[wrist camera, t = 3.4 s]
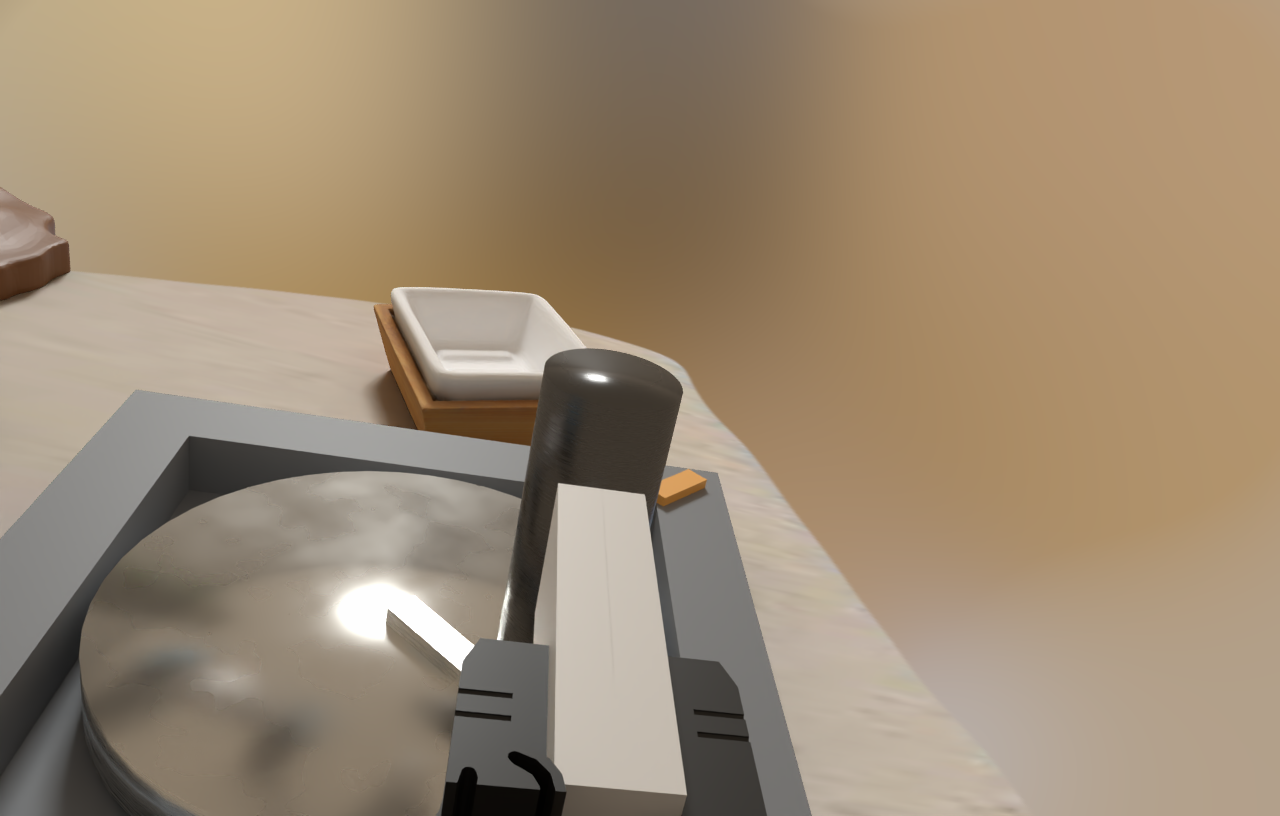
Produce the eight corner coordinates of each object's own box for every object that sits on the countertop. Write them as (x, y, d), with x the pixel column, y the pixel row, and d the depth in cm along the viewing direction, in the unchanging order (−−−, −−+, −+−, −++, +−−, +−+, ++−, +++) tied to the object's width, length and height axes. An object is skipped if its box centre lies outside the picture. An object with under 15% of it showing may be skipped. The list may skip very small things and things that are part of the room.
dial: (-19, 619, 30) (-63, 196, 24) (434, 474, 42) (472, 172, 37) (298, 1050, 21) (342, 532, 15) (753, 703, 33) (867, 350, 28)
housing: (-326, 1075, 20) (-376, 932, 18) (137, 473, 41) (135, 380, 39) (819, 1126, 23) (873, 1010, 22) (697, 547, 45) (719, 465, 43)
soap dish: (608, 471, 50) (627, 381, 48) (413, 479, 46) (424, 380, 44) (533, 364, 60) (546, 286, 58) (367, 363, 56) (374, 277, 53)
